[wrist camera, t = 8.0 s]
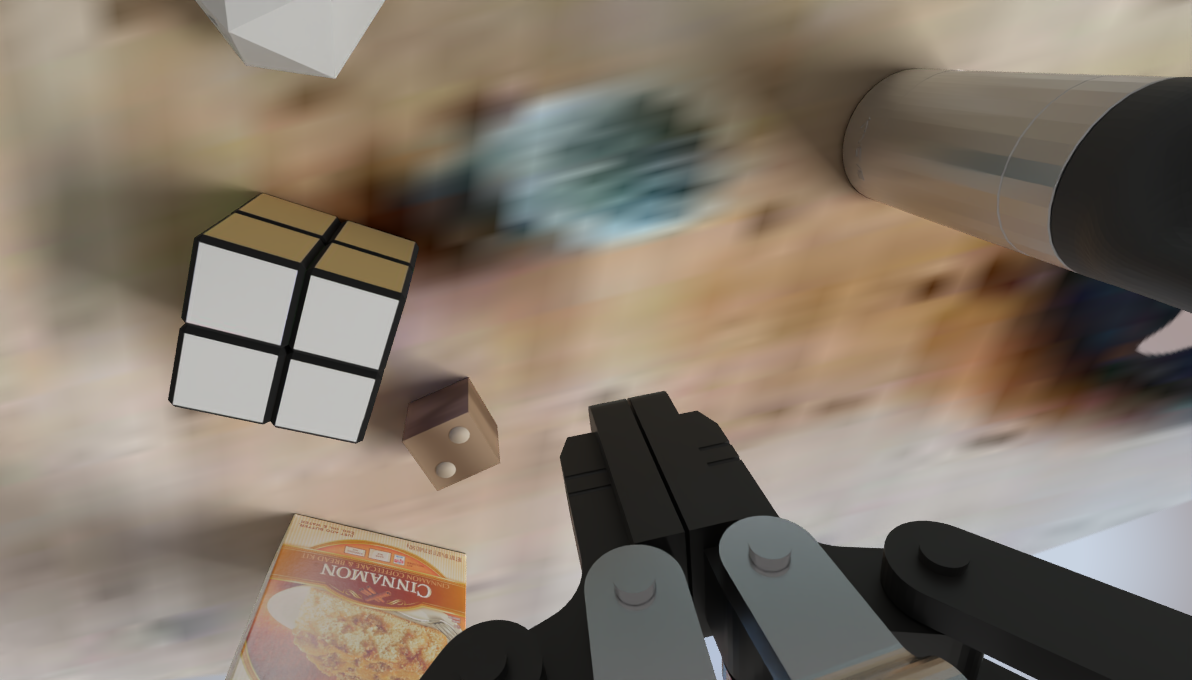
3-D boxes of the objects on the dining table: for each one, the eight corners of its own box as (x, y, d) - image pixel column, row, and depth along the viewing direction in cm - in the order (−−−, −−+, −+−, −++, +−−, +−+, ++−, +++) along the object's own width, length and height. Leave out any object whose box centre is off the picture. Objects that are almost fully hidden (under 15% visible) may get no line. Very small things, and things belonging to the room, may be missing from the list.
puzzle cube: (383, 367, 43) (360, 448, 34) (231, 329, 40) (164, 408, 31) (420, 242, 39) (407, 296, 31) (258, 189, 36) (191, 233, 27)
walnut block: (468, 376, 45) (468, 412, 40) (497, 424, 47) (499, 463, 42) (408, 403, 45) (401, 441, 40) (440, 450, 47) (437, 491, 42)
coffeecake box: (468, 552, 52) (468, 798, 35) (437, 607, 54) (422, 864, 37) (293, 509, 47) (190, 775, 29) (266, 572, 49) (155, 854, 32)
